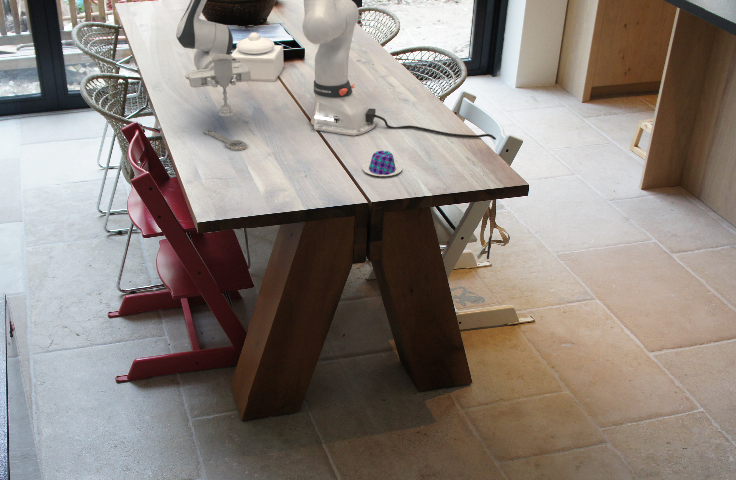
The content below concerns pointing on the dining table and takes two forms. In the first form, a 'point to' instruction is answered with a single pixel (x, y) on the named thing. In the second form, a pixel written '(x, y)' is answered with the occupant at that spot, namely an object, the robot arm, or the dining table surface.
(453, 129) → the dining table surface
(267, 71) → the white square lidded jar
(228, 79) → the chalice
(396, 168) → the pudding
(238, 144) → the spoon
